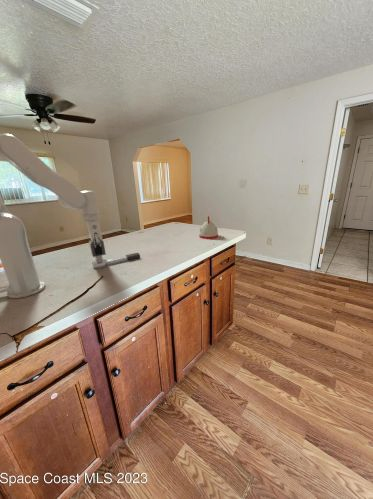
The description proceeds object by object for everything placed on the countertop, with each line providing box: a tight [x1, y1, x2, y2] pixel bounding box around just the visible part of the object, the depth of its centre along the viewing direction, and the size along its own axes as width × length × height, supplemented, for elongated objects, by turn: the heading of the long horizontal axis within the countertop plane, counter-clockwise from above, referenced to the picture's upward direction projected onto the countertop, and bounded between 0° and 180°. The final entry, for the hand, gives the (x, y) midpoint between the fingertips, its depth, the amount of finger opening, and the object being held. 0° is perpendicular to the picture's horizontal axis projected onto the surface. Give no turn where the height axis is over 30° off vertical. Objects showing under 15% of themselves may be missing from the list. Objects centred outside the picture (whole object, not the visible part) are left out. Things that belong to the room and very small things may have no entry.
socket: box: [88, 239, 107, 258], centre depth 104 cm, size 6×6×7 cm
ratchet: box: [91, 252, 141, 270], centre depth 110 cm, size 24×7×6 cm, turn 121°
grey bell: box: [199, 215, 219, 240], centre depth 152 cm, size 14×14×15 cm
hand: (98, 252), depth 105 cm, fingers closed on socket, 6 cm apart
